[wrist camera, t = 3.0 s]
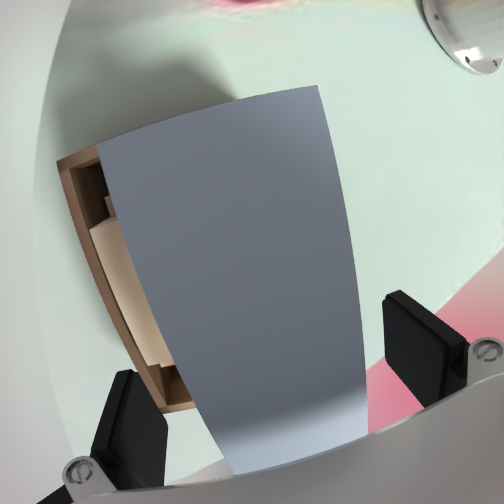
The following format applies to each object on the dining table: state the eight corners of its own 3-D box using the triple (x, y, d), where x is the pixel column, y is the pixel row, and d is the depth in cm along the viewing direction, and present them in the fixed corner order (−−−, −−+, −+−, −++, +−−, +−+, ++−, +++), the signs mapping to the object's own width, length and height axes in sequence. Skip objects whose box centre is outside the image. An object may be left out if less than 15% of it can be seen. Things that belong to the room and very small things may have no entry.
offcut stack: (163, 176, 24) (144, 183, 17) (213, 328, 28) (215, 379, 21) (113, 193, 24) (78, 207, 17) (168, 340, 28) (159, 392, 21)
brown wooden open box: (246, 110, 23) (257, 95, 18) (301, 337, 30) (320, 374, 24) (88, 160, 23) (56, 161, 17) (168, 372, 29) (162, 414, 23)
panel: (235, 143, 24) (317, 84, 5) (280, 320, 29) (365, 515, 10) (185, 157, 24) (96, 144, 5) (238, 332, 29) (280, 540, 10)
